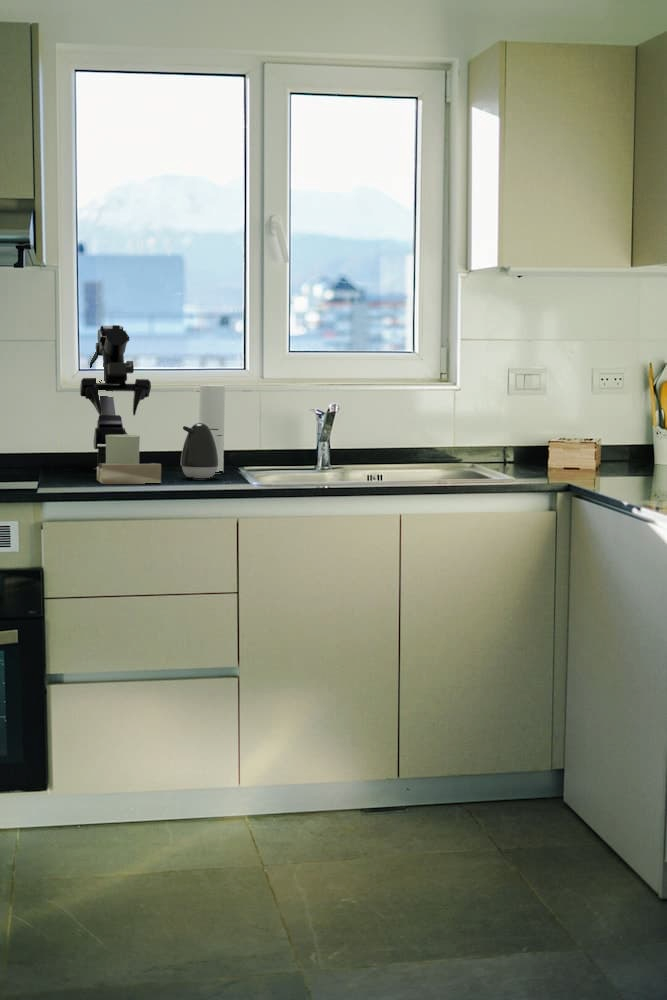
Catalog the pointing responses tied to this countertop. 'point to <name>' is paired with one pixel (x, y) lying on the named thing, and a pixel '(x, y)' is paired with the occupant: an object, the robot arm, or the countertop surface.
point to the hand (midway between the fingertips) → (117, 414)
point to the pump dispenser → (199, 452)
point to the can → (122, 449)
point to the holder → (129, 473)
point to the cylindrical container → (213, 416)
